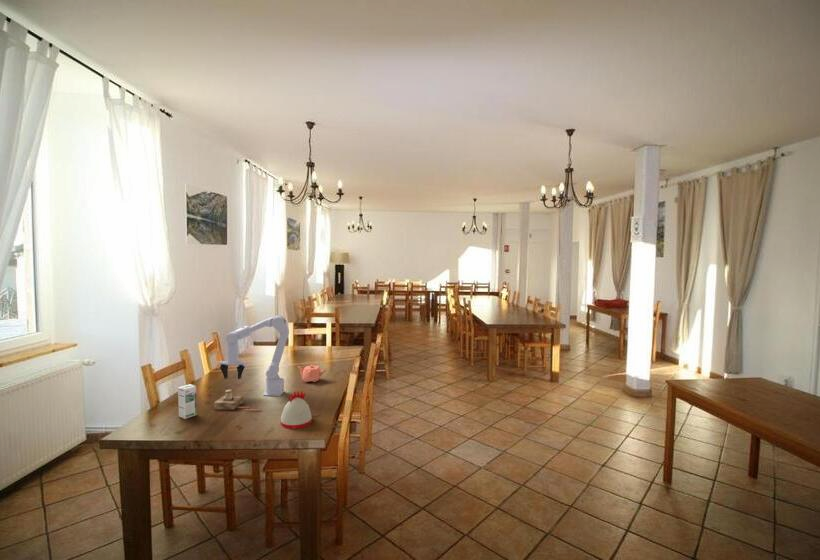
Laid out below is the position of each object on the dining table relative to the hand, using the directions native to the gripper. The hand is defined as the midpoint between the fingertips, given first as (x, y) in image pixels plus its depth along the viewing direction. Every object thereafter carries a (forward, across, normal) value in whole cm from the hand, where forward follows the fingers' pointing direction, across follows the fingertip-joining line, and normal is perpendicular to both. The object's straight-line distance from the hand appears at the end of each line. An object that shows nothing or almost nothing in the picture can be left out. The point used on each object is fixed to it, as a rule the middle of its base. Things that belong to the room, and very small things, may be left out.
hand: (232, 378), depth 214 cm
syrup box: (+10, +8, +28) cm, 31 cm away
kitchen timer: (+10, -46, +31) cm, 56 cm away
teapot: (+10, -35, -30) cm, 47 cm away
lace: (+10, -16, +18) cm, 26 cm away
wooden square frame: (+10, -5, +14) cm, 18 cm away
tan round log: (+10, -5, +14) cm, 18 cm away
